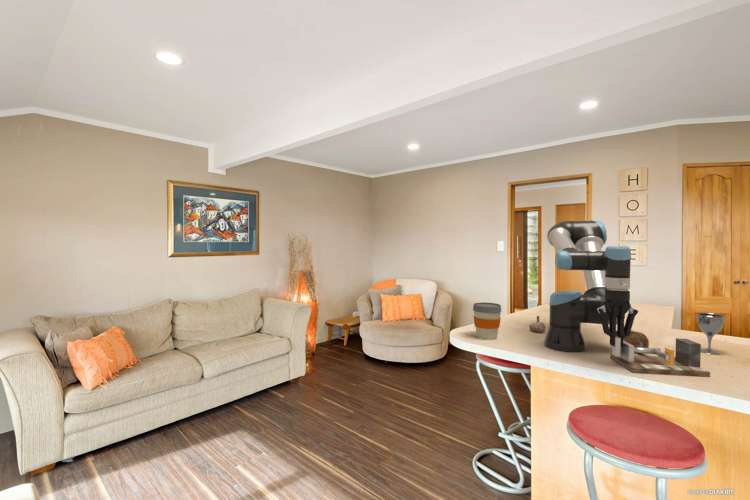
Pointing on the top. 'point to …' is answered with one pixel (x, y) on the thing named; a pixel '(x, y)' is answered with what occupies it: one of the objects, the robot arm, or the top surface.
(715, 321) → the wine glass
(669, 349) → the pointer
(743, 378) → the top surface
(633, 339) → the brown oval slab
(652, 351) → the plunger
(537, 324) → the garlic bulb
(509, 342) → the top surface
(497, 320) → the reusable coffee cup
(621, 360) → the gauge bench
